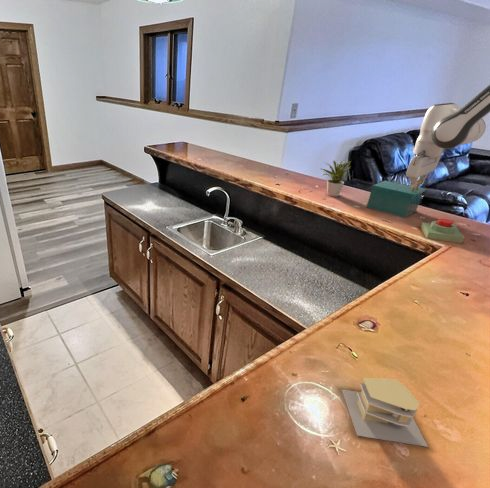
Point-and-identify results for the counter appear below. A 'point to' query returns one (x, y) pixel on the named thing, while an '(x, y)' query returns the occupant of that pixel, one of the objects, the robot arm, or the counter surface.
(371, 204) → the chest
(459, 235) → the console
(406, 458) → the counter surface
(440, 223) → the button
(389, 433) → the stacked layers on plate
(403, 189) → the lid
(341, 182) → the house plant
